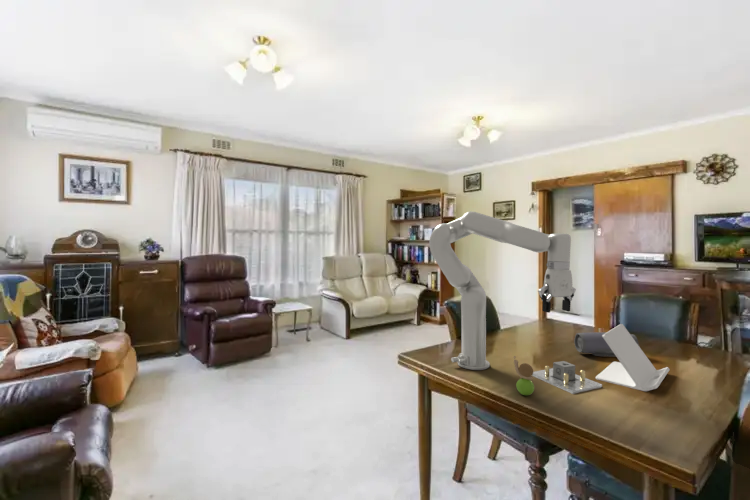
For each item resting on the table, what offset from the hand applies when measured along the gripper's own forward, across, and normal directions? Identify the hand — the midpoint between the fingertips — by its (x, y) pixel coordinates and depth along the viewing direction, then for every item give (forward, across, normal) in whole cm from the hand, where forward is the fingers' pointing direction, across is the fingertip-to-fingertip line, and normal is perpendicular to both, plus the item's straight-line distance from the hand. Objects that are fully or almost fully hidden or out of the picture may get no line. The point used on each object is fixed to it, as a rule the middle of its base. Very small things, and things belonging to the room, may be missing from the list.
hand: (556, 311), depth 136 cm
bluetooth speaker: (+23, +38, +8) cm, 45 cm away
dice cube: (+23, -3, -7) cm, 24 cm away
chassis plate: (+24, -2, -7) cm, 25 cm away
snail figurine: (+24, -24, -11) cm, 36 cm away
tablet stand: (+23, +24, -13) cm, 36 cm away
